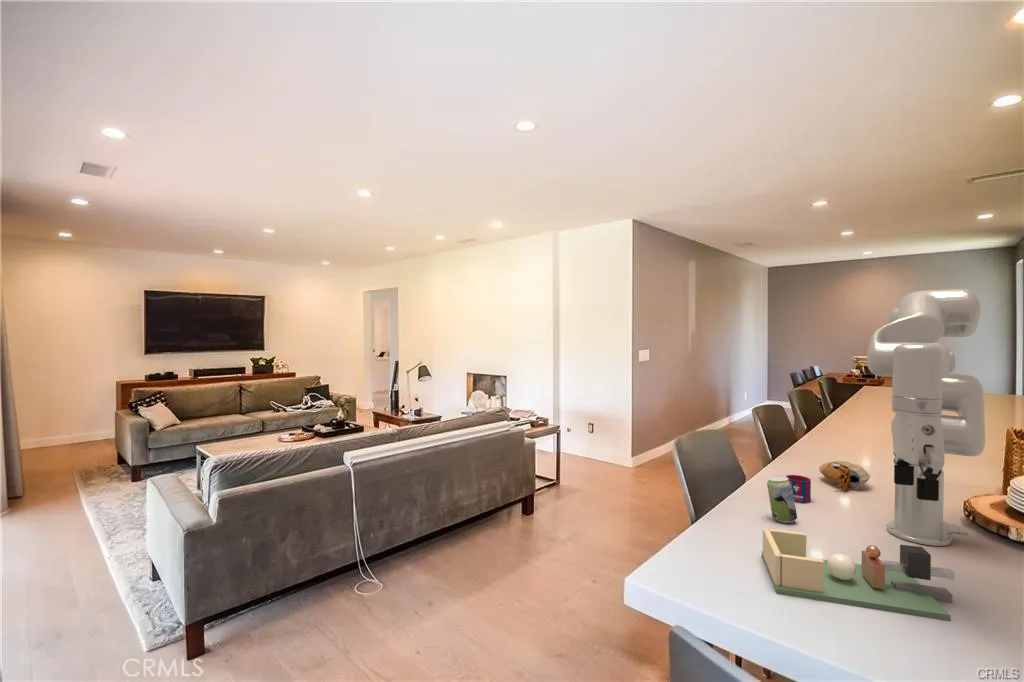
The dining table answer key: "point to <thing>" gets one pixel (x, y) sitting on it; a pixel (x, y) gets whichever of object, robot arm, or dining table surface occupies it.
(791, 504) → the beverage can
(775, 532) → the pitch
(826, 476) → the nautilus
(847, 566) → the ball
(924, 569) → the copper sphere contraption
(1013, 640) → the dining table surface
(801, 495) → the mug
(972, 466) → the dining table surface
